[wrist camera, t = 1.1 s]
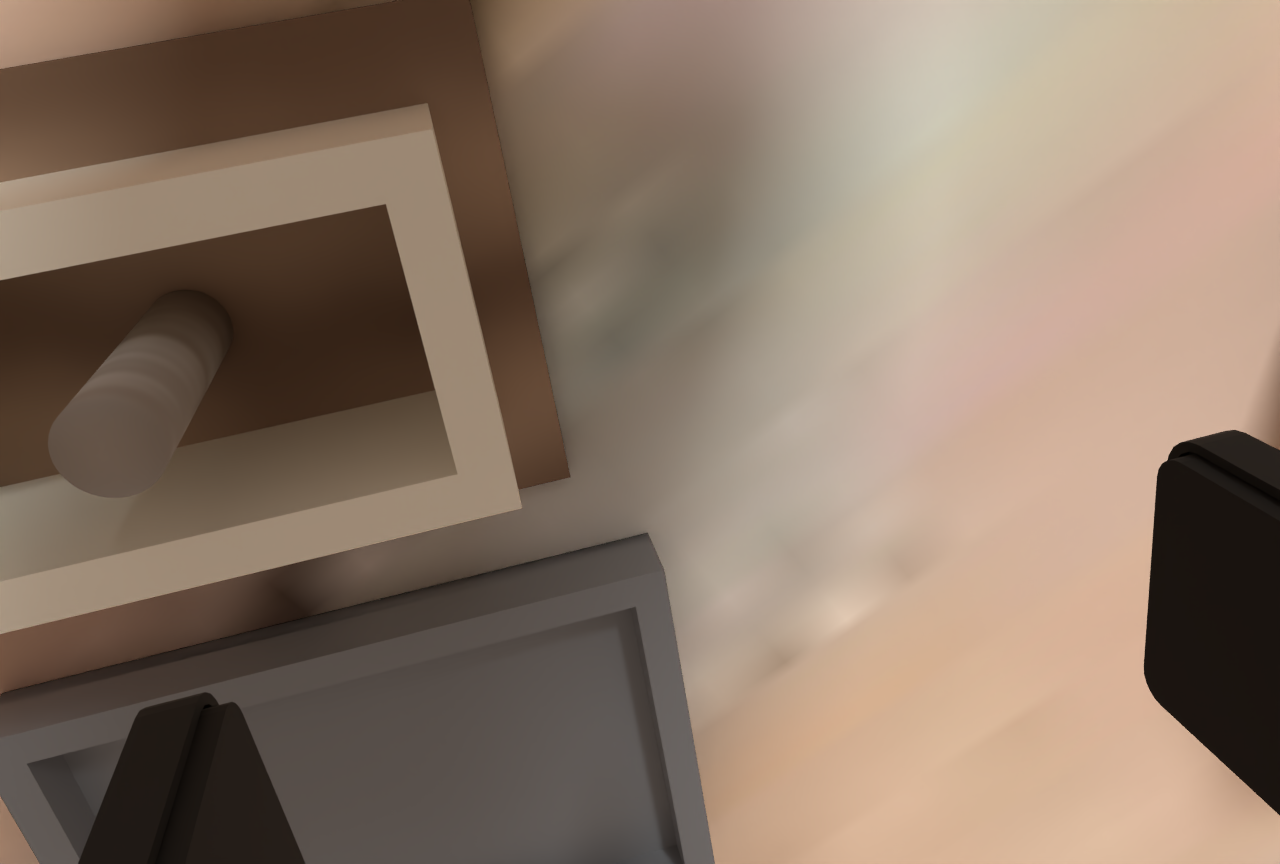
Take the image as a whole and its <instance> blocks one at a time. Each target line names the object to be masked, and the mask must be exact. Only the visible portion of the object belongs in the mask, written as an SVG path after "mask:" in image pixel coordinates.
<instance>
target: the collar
mask: <svg viewBox="0 0 1280 864" xmlns="http://www.w3.org/2000/svg"><path fill="white" fill-rule="evenodd" d="M383 204H386V207H387V210H388V214H389V218H390V222H391V225H392V229H393V233H394V237H395V240H396V244H397V248H398V252H399V256H400V259H401V263H402V267H403V271H404V274H405V278H406V282H407V286H408V289H409V293H410V297H411V301H412V304H413V308H414V312H415V316H416V319H417V323H418V327H419V331H420V334H421V338H422V342H423V346H424V350H425V353H426V357H427V361H428V365H429V368H430V372H431V376H432V380H433V383H434V387H435V390H434V391H429V392H425V393H420V394H416V395H411V396H407V397H402V398H398V399H393V400H389V401H384V402H380V403H375V404H371V405H366V406H362V407H357V408H353V409H348V410H344V411H339V412H335V413H330V414H326V415H322V416H317V417H313V418H308V419H304V420H299V421H295V422H290V423H286V424H281V425H277V426H272V427H268V428H263V429H259V430H254V431H250V432H245V433H241V434H236V435H232V436H227V437H223V438H218V439H214V440H210V441H205V442H201V443H196V444H192V445H187V446H183V447H178V448H176V450H175V452H174V454H173V456H172V458H171V459H170V461H169V463H168V465H167V467H166V469H165V471H164V473H163V474H162V476H161V477H160V479H159V480H158V481H157V482H156V483H155V484H154V485H152V486H151V487H150V488H148V489H147V490H145V491H143V492H141V493H138V494H136V495H132V496H128V497H122V498H107V497H100V496H96V495H92V494H89V493H87V492H84V491H82V490H80V489H78V488H77V487H75V486H74V485H72V484H71V483H69V482H68V481H67V480H66V479H65V478H64V477H63V476H62V475H61V474H57V475H53V476H48V477H44V478H39V479H35V480H30V481H26V482H21V483H17V484H12V485H8V486H3V487H0V634H3V633H7V632H11V631H16V630H20V629H24V628H28V627H32V626H36V625H40V624H45V623H49V622H53V621H57V620H61V619H65V618H70V617H74V616H78V615H82V614H86V613H90V612H94V611H99V610H103V609H107V608H111V607H115V606H119V605H123V604H128V603H132V602H136V601H140V600H144V599H148V598H152V597H157V596H161V595H165V594H169V593H173V592H177V591H182V590H186V589H190V588H194V587H198V586H202V585H206V584H211V583H215V582H219V581H223V580H227V579H231V578H235V577H240V576H244V575H248V574H252V573H256V572H260V571H265V570H269V569H273V568H277V567H281V566H285V565H289V564H294V563H298V562H302V561H306V560H310V559H314V558H318V557H323V556H327V555H331V554H335V553H339V552H343V551H347V550H352V549H356V548H360V547H364V546H368V545H372V544H377V543H381V542H385V541H389V540H393V539H397V538H401V537H406V536H410V535H414V534H418V533H422V532H426V531H430V530H435V529H439V528H443V527H447V526H451V525H455V524H459V523H464V522H468V521H472V520H476V519H480V518H484V517H489V516H493V515H497V514H501V513H505V512H509V511H513V510H518V509H522V504H521V500H520V495H519V491H518V486H517V482H516V477H515V473H514V468H513V464H512V459H511V455H510V450H509V446H508V441H507V437H506V432H505V427H504V423H503V418H502V414H501V410H500V406H499V401H498V397H497V393H496V389H495V385H494V380H493V376H492V372H491V368H490V364H489V359H488V355H487V351H486V347H485V343H484V338H483V334H482V330H481V326H480V321H479V317H478V313H477V309H476V305H475V300H474V296H473V292H472V288H471V284H470V279H469V275H468V271H467V267H466V262H465V258H464V254H463V250H462V246H461V241H460V237H459V233H458V229H457V225H456V220H455V216H454V212H453V208H452V204H451V199H450V195H449V191H448V187H447V182H446V178H445V174H444V170H443V166H442V161H441V157H440V153H439V149H438V145H437V140H436V136H435V132H434V128H433V123H432V119H431V115H430V111H429V107H428V103H425V104H419V105H414V106H409V107H403V108H398V109H392V110H387V111H382V112H376V113H371V114H366V115H360V116H355V117H349V118H344V119H339V120H333V121H328V122H323V123H317V124H312V125H306V126H301V127H296V128H290V129H285V130H280V131H274V132H269V133H264V134H258V135H253V136H247V137H242V138H237V139H231V140H226V141H221V142H215V143H210V144H204V145H199V146H194V147H188V148H183V149H178V150H172V151H167V152H161V153H156V154H151V155H145V156H140V157H135V158H129V159H124V160H118V161H113V162H108V163H102V164H97V165H92V166H86V167H81V168H75V169H70V170H65V171H59V172H54V173H49V174H43V175H38V176H33V177H27V178H22V179H16V180H11V181H6V182H0V280H4V279H10V278H15V277H20V276H25V275H30V274H35V273H40V272H45V271H50V270H55V269H60V268H65V267H70V266H75V265H80V264H85V263H90V262H95V261H100V260H105V259H111V258H116V257H121V256H126V255H131V254H136V253H141V252H146V251H151V250H156V249H161V248H166V247H171V246H176V245H181V244H186V243H191V242H196V241H201V240H206V239H211V238H217V237H222V236H227V235H232V234H237V233H242V232H247V231H252V230H257V229H262V228H267V227H272V226H277V225H282V224H287V223H292V222H297V221H302V220H307V219H312V218H318V217H323V216H328V215H333V214H338V213H343V212H348V211H353V210H358V209H363V208H368V207H373V206H378V205H383Z"/></svg>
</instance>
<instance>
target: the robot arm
mask: <svg viewBox="0 0 1280 864" xmlns="http://www.w3.org/2000/svg"><path fill="white" fill-rule="evenodd" d="M1144 675H1145V679H1146V682H1147V685H1148V687H1149V689H1150V691H1151V693H1152V695H1153V696H1154V698H1155V699H1156V700H1157V701H1158V703H1159V704H1160V705H1161V706H1162V707H1163V708H1164V709H1166V710H1167V711H1168V712H1169V713H1170V714H1171V715H1172V716H1173V717H1174V718H1175V719H1176V720H1177V721H1178V722H1180V723H1181V724H1182V725H1183V726H1184V727H1185V728H1186V729H1187V730H1188V731H1189V732H1190V733H1191V734H1193V735H1194V736H1195V737H1196V738H1197V739H1198V740H1199V741H1200V742H1201V743H1202V744H1203V745H1204V746H1205V747H1207V748H1208V749H1209V750H1210V751H1211V752H1212V753H1213V754H1214V755H1215V756H1216V757H1217V758H1218V759H1220V760H1221V761H1222V762H1223V763H1224V764H1225V765H1226V766H1227V767H1228V768H1229V769H1230V770H1231V771H1232V772H1234V773H1235V774H1236V775H1237V776H1238V777H1239V778H1240V779H1241V780H1242V781H1243V782H1244V783H1245V784H1247V785H1248V786H1249V787H1250V788H1251V789H1252V790H1253V791H1254V792H1255V793H1256V794H1257V795H1258V796H1259V797H1261V798H1262V799H1263V800H1264V801H1265V802H1266V803H1267V804H1268V805H1269V806H1270V807H1271V808H1272V809H1274V810H1275V811H1276V812H1277V813H1278V814H1279V815H1280V450H1278V449H1276V448H1274V447H1272V446H1270V445H1268V444H1266V443H1264V442H1262V441H1260V440H1258V439H1256V438H1254V437H1252V436H1250V435H1248V434H1246V433H1243V432H1240V431H1237V430H1230V431H1224V432H1220V433H1216V434H1212V435H1208V436H1204V437H1200V438H1197V439H1193V440H1189V441H1185V442H1181V443H1179V444H1178V445H1176V446H1175V447H1173V449H1172V451H1171V452H1170V454H1169V457H1168V460H1167V461H1166V462H1164V463H1163V464H1162V465H1161V466H1160V468H1159V470H1158V475H1157V486H1156V500H1155V514H1154V529H1153V543H1152V557H1151V571H1150V586H1149V600H1148V614H1147V629H1146V643H1145V657H1144ZM78 864H305V861H304V859H303V856H302V854H301V852H300V849H299V847H298V844H297V842H296V840H295V837H294V835H293V832H292V830H291V828H290V825H289V823H288V821H287V818H286V816H285V813H284V811H283V809H282V806H281V804H280V801H279V799H278V797H277V794H276V792H275V789H274V787H273V785H272V782H271V780H270V777H269V775H268V773H267V770H266V768H265V765H264V763H263V761H262V758H261V756H260V754H259V751H258V749H257V746H256V744H255V742H254V739H253V737H252V734H251V732H250V730H249V727H248V725H247V722H246V720H245V718H244V715H243V713H242V711H241V709H240V707H239V706H238V705H237V704H236V703H234V702H229V703H225V704H221V705H219V704H218V702H217V700H216V699H215V698H214V697H213V695H212V694H210V693H207V692H203V693H200V694H196V695H192V696H188V697H184V698H180V699H176V700H172V701H168V702H164V703H160V704H157V705H153V706H149V707H145V708H143V709H141V710H140V711H139V712H138V714H137V716H136V717H135V719H134V722H133V724H132V727H131V730H130V732H129V735H128V737H127V740H126V742H125V745H124V747H123V750H122V752H121V755H120V758H119V760H118V763H117V765H116V768H115V770H114V773H113V775H112V778H111V781H110V783H109V786H108V788H107V791H106V793H105V796H104V798H103V801H102V804H101V806H100V809H99V811H98V814H97V816H96V819H95V821H94V824H93V827H92V829H91V832H90V834H89V837H88V839H87V842H86V844H85V847H84V849H83V852H82V855H81V857H80V860H79V862H78Z"/></svg>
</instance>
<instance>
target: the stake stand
mask: <svg viewBox="0 0 1280 864" xmlns="http://www.w3.org/2000/svg"><path fill="white" fill-rule="evenodd" d="M425 103H428V107H429V111H430V115H431V119H432V123H433V128H434V132H435V136H436V140H437V145H438V149H439V153H440V157H441V161H442V166H443V170H444V174H445V178H446V182H447V187H448V191H449V195H450V199H451V204H452V208H453V212H454V216H455V220H456V225H457V229H458V233H459V237H460V241H461V246H462V250H463V254H464V258H465V262H466V267H467V271H468V275H469V279H470V284H471V288H472V292H473V296H474V300H475V305H476V309H477V313H478V317H479V321H480V326H481V330H482V334H483V338H484V343H485V347H486V351H487V355H488V359H489V364H490V368H491V372H492V376H493V380H494V385H495V389H496V393H497V397H498V401H499V406H500V410H501V414H502V418H503V423H504V427H505V432H506V437H507V441H508V446H509V450H510V455H511V459H512V464H513V468H514V473H515V477H516V482H517V486H518V489H523V488H527V487H531V486H535V485H539V484H544V483H548V482H552V481H556V480H560V479H565V478H569V477H570V473H569V468H568V463H567V459H566V454H565V449H564V444H563V440H562V435H561V430H560V425H559V421H558V416H557V411H556V406H555V402H554V397H553V392H552V387H551V383H550V378H549V373H548V368H547V364H546V359H545V354H544V350H543V345H542V340H541V335H540V331H539V326H538V321H537V316H536V312H535V307H534V302H533V297H532V293H531V288H530V283H529V278H528V274H527V269H526V264H525V259H524V255H523V250H522V245H521V240H520V236H519V231H518V226H517V222H516V217H515V212H514V207H513V203H512V198H511V193H510V188H509V184H508V179H507V174H506V169H505V165H504V160H503V155H502V150H501V146H500V141H499V136H498V131H497V127H496V122H495V117H494V112H493V108H492V103H491V98H490V94H489V89H488V84H487V79H486V75H485V70H484V65H483V60H482V56H481V51H480V46H479V41H478V37H477V32H476V27H475V22H474V18H473V13H472V8H471V3H470V0H399V1H394V2H388V3H382V4H376V5H370V6H365V7H359V8H353V9H347V10H341V11H336V12H330V13H324V14H318V15H312V16H307V17H301V18H295V19H289V20H283V21H278V22H272V23H266V24H260V25H254V26H249V27H243V28H237V29H231V30H225V31H220V32H214V33H208V34H202V35H196V36H191V37H185V38H179V39H173V40H167V41H162V42H156V43H150V44H144V45H138V46H133V47H127V48H121V49H115V50H109V51H104V52H98V53H92V54H86V55H80V56H75V57H69V58H63V59H57V60H51V61H45V62H40V63H34V64H28V65H22V66H16V67H11V68H5V69H0V182H6V181H11V180H16V179H22V178H27V177H33V176H38V175H43V174H49V173H54V172H59V171H65V170H70V169H75V168H81V167H86V166H92V165H97V164H102V163H108V162H113V161H118V160H124V159H129V158H135V157H140V156H145V155H151V154H156V153H161V152H167V151H172V150H178V149H183V148H188V147H194V146H199V145H204V144H210V143H215V142H221V141H226V140H231V139H237V138H242V137H247V136H253V135H258V134H264V133H269V132H274V131H280V130H285V129H290V128H296V127H301V126H306V125H312V124H317V123H323V122H328V121H333V120H339V119H344V118H349V117H355V116H360V115H366V114H371V113H376V112H382V111H387V110H392V109H398V108H403V107H409V106H414V105H419V104H425ZM434 390H435V387H434V383H433V380H432V376H431V372H430V368H429V365H428V361H427V357H426V353H425V350H424V346H423V342H422V338H421V334H420V331H419V327H418V323H417V319H416V316H415V312H414V308H413V304H412V301H411V297H410V293H409V289H408V286H407V282H406V278H405V274H404V271H403V267H402V263H401V259H400V256H399V252H398V248H397V244H396V240H395V237H394V233H393V229H392V225H391V222H390V218H389V214H388V210H387V207H386V204H383V205H378V206H373V207H368V208H363V209H358V210H353V211H348V212H343V213H338V214H333V215H328V216H323V217H318V218H312V219H307V220H302V221H297V222H292V223H287V224H282V225H277V226H272V227H267V228H262V229H257V230H252V231H247V232H242V233H237V234H232V235H227V236H222V237H217V238H211V239H206V240H201V241H196V242H191V243H186V244H181V245H176V246H171V247H166V248H161V249H156V250H151V251H146V252H141V253H136V254H131V255H126V256H121V257H116V258H111V259H105V260H100V261H95V262H90V263H85V264H80V265H75V266H70V267H65V268H60V269H55V270H50V271H45V272H40V273H35V274H30V275H25V276H20V277H15V278H10V279H4V280H0V487H3V486H8V485H12V484H17V483H21V482H26V481H30V480H35V479H39V478H44V477H48V476H53V475H57V474H61V475H62V476H63V477H64V478H65V479H66V480H67V481H68V482H69V483H71V484H72V485H74V486H75V487H77V488H78V489H80V490H82V491H84V492H87V493H89V494H92V495H96V496H100V497H107V498H122V497H128V496H132V495H136V494H138V493H141V492H143V491H145V490H147V489H148V488H150V487H151V486H152V485H154V484H155V483H156V482H157V481H158V480H159V479H160V477H161V476H162V474H163V473H164V471H165V469H166V467H167V465H168V463H169V461H170V459H171V458H172V456H173V454H174V452H175V450H176V448H178V447H183V446H187V445H192V444H196V443H201V442H205V441H210V440H214V439H218V438H223V437H227V436H232V435H236V434H241V433H245V432H250V431H254V430H259V429H263V428H268V427H272V426H277V425H281V424H286V423H290V422H295V421H299V420H304V419H308V418H313V417H317V416H322V415H326V414H330V413H335V412H339V411H344V410H348V409H353V408H357V407H362V406H366V405H371V404H375V403H380V402H384V401H389V400H393V399H398V398H402V397H407V396H411V395H416V394H420V393H425V392H429V391H434Z"/></svg>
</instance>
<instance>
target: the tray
mask: <svg viewBox="0 0 1280 864" xmlns="http://www.w3.org/2000/svg"><path fill="white" fill-rule="evenodd" d="M203 692H207V693H210V694H212V695H213V697H214V698H215V699H216V700H217V702H218V704H219V705H221V704H225V703H229V702H234V703H236V704H237V705H238V706H239V707H240V709H241V711H242V713H243V715H244V718H245V720H246V722H247V725H248V727H249V730H250V732H251V734H252V737H253V739H254V742H255V744H256V746H257V749H258V751H259V754H260V756H261V758H262V761H263V763H264V765H265V768H266V770H267V773H268V775H269V777H270V780H271V782H272V785H273V787H274V789H275V792H276V794H277V797H278V799H279V801H280V804H281V806H282V809H283V811H284V813H285V816H286V818H287V821H288V823H289V825H290V828H291V830H292V832H293V835H294V837H295V840H296V842H297V844H298V847H299V849H300V852H301V854H302V856H303V859H304V861H305V864H715V862H714V856H713V850H712V845H711V839H710V833H709V827H708V821H707V816H706V810H705V804H704V798H703V792H702V787H701V781H700V775H699V769H698V764H697V758H696V752H695V746H694V740H693V735H692V729H691V723H690V717H689V711H688V706H687V700H686V694H685V688H684V683H683V677H682V671H681V665H680V659H679V654H678V648H677V642H676V636H675V630H674V625H673V619H672V613H671V607H670V602H669V596H668V590H667V584H666V578H665V573H664V569H663V566H662V564H661V562H660V560H659V557H658V555H657V553H656V551H655V548H654V546H653V544H652V542H651V540H650V537H649V535H648V533H646V534H641V535H637V536H633V537H629V538H625V539H621V540H617V541H613V542H609V543H605V544H601V545H597V546H593V547H589V548H585V549H581V550H577V551H573V552H569V553H565V554H561V555H557V556H553V557H549V558H545V559H541V560H537V561H533V562H529V563H525V564H521V565H517V566H513V567H509V568H505V569H501V570H497V571H492V572H488V573H484V574H480V575H476V576H472V577H468V578H464V579H460V580H456V581H452V582H448V583H444V584H440V585H436V586H432V587H428V588H424V589H420V590H416V591H412V592H408V593H404V594H400V595H396V596H392V597H388V598H384V599H380V600H376V601H372V602H368V603H364V604H360V605H356V606H352V607H347V608H343V609H339V610H335V611H331V612H327V613H323V614H319V615H315V616H311V617H307V618H303V619H299V620H295V621H291V622H287V623H283V624H279V625H275V626H271V627H267V628H263V629H259V630H255V631H251V632H247V633H243V634H239V635H235V636H231V637H227V638H223V639H219V640H215V641H211V642H207V643H202V644H198V645H194V646H190V647H186V648H182V649H178V650H174V651H170V652H166V653H162V654H158V655H154V656H150V657H146V658H142V659H138V660H134V661H130V662H126V663H122V664H118V665H114V666H110V667H106V668H102V669H98V670H94V671H90V672H86V673H82V674H78V675H74V676H70V677H66V678H62V679H58V680H53V681H49V682H45V683H41V684H37V685H33V686H29V687H25V688H21V689H17V690H13V691H9V692H5V693H2V694H1V696H0V796H1V798H2V799H3V801H4V803H5V805H6V806H7V808H8V810H9V811H10V813H11V815H12V817H13V818H14V820H15V822H16V823H17V825H18V827H19V829H20V830H21V832H22V834H23V835H24V837H25V839H26V841H27V842H28V844H29V846H30V848H31V849H32V851H33V853H34V854H35V856H36V858H37V860H38V861H39V863H40V864H78V862H79V860H80V857H81V855H82V852H83V849H84V847H85V844H86V842H87V839H88V837H89V834H90V832H91V829H92V827H93V824H94V821H95V819H96V816H97V814H98V811H99V809H100V806H101V804H102V801H103V798H104V796H105V793H106V791H107V788H108V786H109V783H110V781H111V778H112V775H113V773H114V770H115V768H116V765H117V763H118V760H119V758H120V755H121V752H122V750H123V747H124V745H125V742H126V740H127V737H128V735H129V732H130V730H131V727H132V724H133V722H134V719H135V717H136V716H137V714H138V712H139V711H140V710H141V709H143V708H145V707H149V706H153V705H157V704H160V703H164V702H168V701H172V700H176V699H180V698H184V697H188V696H192V695H196V694H200V693H203Z"/></svg>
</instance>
